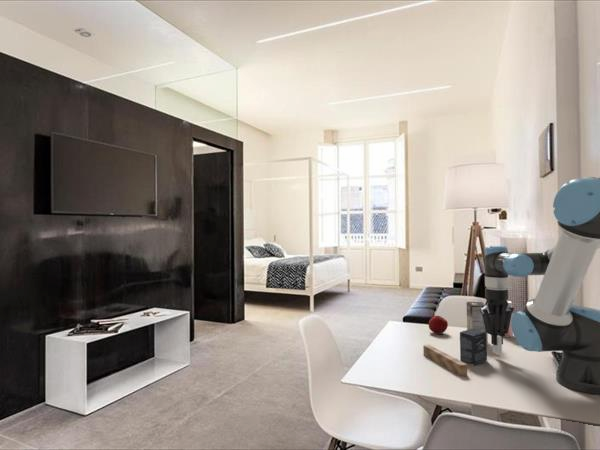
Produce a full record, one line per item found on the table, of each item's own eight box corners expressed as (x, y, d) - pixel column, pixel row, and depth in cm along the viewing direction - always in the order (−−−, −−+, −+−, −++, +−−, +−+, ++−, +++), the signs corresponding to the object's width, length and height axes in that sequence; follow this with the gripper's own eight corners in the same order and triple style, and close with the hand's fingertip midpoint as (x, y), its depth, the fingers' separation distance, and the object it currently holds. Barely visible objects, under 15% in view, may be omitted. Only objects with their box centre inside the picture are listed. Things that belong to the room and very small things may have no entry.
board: (467, 375, 122) (467, 364, 122) (460, 376, 122) (460, 365, 122) (429, 354, 144) (429, 344, 144) (423, 354, 143) (423, 345, 143)
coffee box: (466, 338, 164) (465, 301, 164) (482, 339, 163) (481, 301, 163) (471, 344, 155) (471, 305, 155) (488, 345, 154) (488, 305, 154)
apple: (439, 336, 167) (439, 318, 167) (425, 332, 174) (425, 315, 174) (451, 334, 171) (451, 316, 171) (436, 330, 178) (436, 313, 178)
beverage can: (494, 334, 170) (493, 300, 170) (505, 333, 171) (504, 300, 172) (505, 338, 164) (504, 303, 164) (516, 336, 166) (515, 302, 166)
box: (473, 357, 140) (472, 327, 140) (487, 361, 135) (487, 331, 135) (459, 361, 136) (459, 331, 136) (474, 366, 131) (473, 334, 131)
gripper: (504, 286, 143) (504, 348, 143) (473, 287, 140) (474, 351, 140) (519, 289, 136) (520, 355, 136) (488, 290, 133) (489, 358, 133)
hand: (497, 353), depth 138 cm, fingers closed
